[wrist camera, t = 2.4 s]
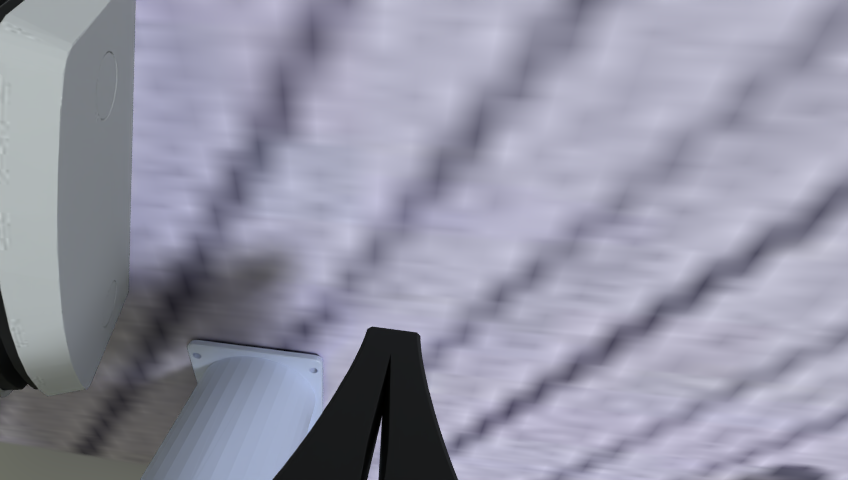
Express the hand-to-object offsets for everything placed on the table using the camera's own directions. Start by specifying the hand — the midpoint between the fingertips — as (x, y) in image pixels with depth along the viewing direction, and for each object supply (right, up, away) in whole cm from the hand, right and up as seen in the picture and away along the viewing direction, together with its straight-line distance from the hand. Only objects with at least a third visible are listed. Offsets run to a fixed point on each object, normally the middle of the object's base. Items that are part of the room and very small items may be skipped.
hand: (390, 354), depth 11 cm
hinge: (-13, +7, +7) cm, 16 cm away
